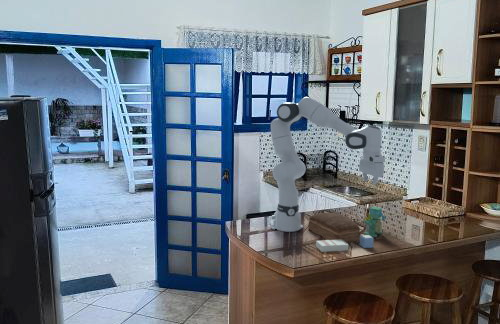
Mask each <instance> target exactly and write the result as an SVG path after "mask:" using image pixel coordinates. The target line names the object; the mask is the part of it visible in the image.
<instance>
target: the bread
mask: <svg viewBox="0 0 500 324" xmlns="http://www.w3.org/2000/svg"><path fill="white" fill-rule="evenodd" d="M307 228H308V230H309V229H310V230H309V231H310V232H313V233H314V234H317V235H318V236H320V237H323V238H324V239H325V240H339V239H342V240H343V241H345V242H346V243H352V242H358V241H359V242H360V235H362V234H361V229H360V226H359V224H357V223H356V222H354V221H353V220H351V219H350V218H348V217H345V216H342V215H341V214H338V212H337V213H335V212H321V213H320V212H319V213H314V214H312V215H311V216H310V217H309V219H308V224H307Z"/></svg>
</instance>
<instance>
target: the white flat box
mask: <svg viewBox="0 0 500 324" xmlns="http://www.w3.org/2000/svg"><path fill="white" fill-rule="evenodd" d="M315 247H316V248H317V250H319V251H320V252H321V253H323V252H325V253H326V252H327V253H328V252H340V251H341V252H343V251H349V243H348V242H345V241H343V240H342V239H339V240H328V239H325V240H324V239H323V240H322V239H321V240H315Z"/></svg>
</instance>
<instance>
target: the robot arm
mask: <svg viewBox="0 0 500 324" xmlns="http://www.w3.org/2000/svg"><path fill="white" fill-rule="evenodd" d="M276 115H277V118H274V119H273V120H272V121H271V122H270V134H271V135H270V136H271V141H272V144H273V148H274V152H275V155H276V156H278V157H279V159H280V161H281V162H280V163H278V164H276V165H275V166H274V167H273V168H272V177H273V179H274V180H275V182H276V184H277V187H278V204H277V206H276V207H277V210H276V211H275V212H274V213H273V214H272V215H271V220H269V224H271V225H270V227H271V229H272V230H275V229H277V231H280V232H288V233H289V232H292V233H293V232H297V231H299V230H301V229H303V228H304V225H303V224H302V214H301V213H300V212H299V211H300V209H299V208H300V206H299V190H298V188H297V186H296V182H295V181H296V180H297V179H300V178H301V177H302V176H304V174H305V173H306V171H307V167H306V164H305V163H304V162H303V161H302V160H301V158H300V156H299V154H298V153H297V151H296V149H295V145H294V141H293V137H292V133H291V126H293V125H295V124H296V123H297V122H299V121H300V120H302V118H303V117H304V118H306V119H307V120H308V121H310V122H311V123H313V125H316V126H318V127H320V128H328V129H332V130H336V131H337V132H338V133H340V134H342V135H343V136H345V139H344V141H345V146H347V148H348V149H350V150H360V149H362V150H363V151H362V156H361V157H360V160H359V163H358V165H359V166H358V170H359V172H361V173H362V176H363V181H364V182H368V180H369V177H368V175H369V176H372V177H373V178H372V179H373V180H372V181H371V184H372V185H373V186H376V185H377V184H378V183H377V182H378V179H379V178H383V176H384V173H385V164H384V163H385V162H386V158H385V157H384V156H383V154H381V145H382V130H381V128H380V127H378V126H375V125H371V124H369V125H365V126H363V127H362V128H360V129H359V128H355V127H353V126H352V125H350V124H349V123H347V122H345V121H344V120H343V119H341V118H340V117H339V116H337V115H336V114H335V113H333V112H332V111H331V110H330V109H329V108H328V107H327V106H325V105H324V104H323V103H321V102H319V101H318V100H316V99H314V98H311V97H309V96H305V97H303V98H301V99H300V101H299V102H298V103H295V102H283V103H281V104H280V105H278V107H277V110H276Z"/></svg>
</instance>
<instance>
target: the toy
mask: <svg viewBox="0 0 500 324" xmlns="http://www.w3.org/2000/svg"><path fill="white" fill-rule="evenodd" d="M385 221H386V216H385V215H384V212H383V208H382V207H377V206H371V207H369V213H367V217H365V220H364V223H365V225H366V226H365V232H364V234H363V235H370V236H371V237H373V238H377V236H378V234H379V235H381V234H382V233H383V222H385Z"/></svg>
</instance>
